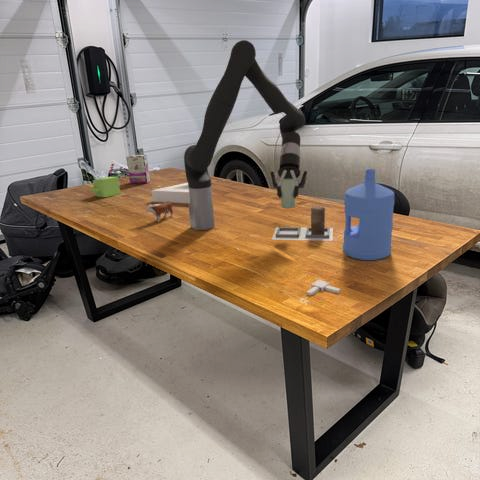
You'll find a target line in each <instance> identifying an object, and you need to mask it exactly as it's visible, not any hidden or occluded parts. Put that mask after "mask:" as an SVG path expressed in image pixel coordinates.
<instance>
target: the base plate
mask: <svg viewBox="0 0 480 480" xmlns="http://www.w3.org/2000/svg"><path fill="white" fill-rule="evenodd" d="M333 239H334V227H325V234H324V235H314V234H311V226H310V227H309V226H307V227H303V226H302V227H301V226H300V227H299V226H276V228H275V230H274V232H273V235H272V238H271V240H272V241H273V240H274V241H276V240H278V241H316V242H317V241H320V242H321V241H322V242H333Z"/></svg>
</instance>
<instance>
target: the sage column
mask: <svg viewBox="0 0 480 480" xmlns="http://www.w3.org/2000/svg"><path fill="white" fill-rule="evenodd" d="M294 187H295V180H294V179H290V178H287V179H282V180H281V198H280V200H281V202H280V203H281V204H280V205H281V208H282V209H293V208H295V207H296V198H294Z"/></svg>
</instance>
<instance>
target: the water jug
mask: <svg viewBox="0 0 480 480" xmlns="http://www.w3.org/2000/svg"><path fill="white" fill-rule="evenodd" d="M364 171H365V175H364V182H363V183H361V184H358V185H356V186H353V187H351V188H348V189H347V190H346V191H345V192H344V198H343V199H344V200H343V203H344V211H343V212H344V214H345V220H344V222H345V223H344V224H345V225H344V227H345V228H344V231H343V243H342V249H343V252H344V254H345V255H347V256H348V257H349V258H351V259H356V260H361V261H377V260H378V261H379V260H382V259H383V260H384V259H385V258H387V257H390V254H391V252H392V238H393V237H392V235H393V234H392V233H393V228H394V227H393V225H394V223H393V221H394V220H393V219H394V208H395V207H394V206H395V192H394V190H391V189H390V188H388V187H386V186H384V185H381V184H379V183H376V171H377V170H376V169H372V168H370V169H365V170H364ZM352 218H353V219H354V218H356V219H359V223H358V224H357V225H354V226H353V225H351V224H352V223H351V222H352Z"/></svg>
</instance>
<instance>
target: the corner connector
mask: <svg viewBox="0 0 480 480" xmlns="http://www.w3.org/2000/svg"><path fill="white" fill-rule="evenodd" d="M310 286H311V288H310V289H308V290H307V291H306V295H308V296H313V295H315V294H316V293H318V292H320V291H321V292H323V291H327V292H330V293H333V294H339V293H341V288H339V287H334V286H332V285H330V282H328V281H324V280H321V279H317V280H316V281H314V282H313V283H311V285H310Z"/></svg>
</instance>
